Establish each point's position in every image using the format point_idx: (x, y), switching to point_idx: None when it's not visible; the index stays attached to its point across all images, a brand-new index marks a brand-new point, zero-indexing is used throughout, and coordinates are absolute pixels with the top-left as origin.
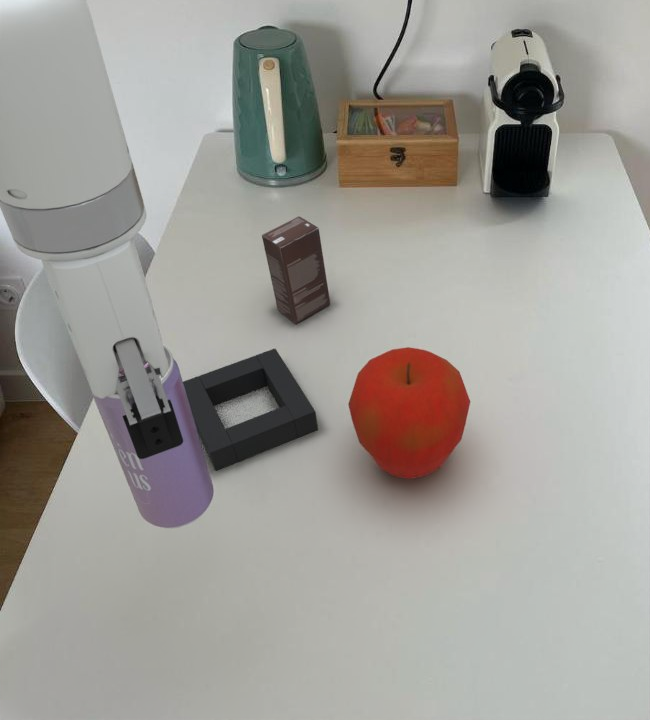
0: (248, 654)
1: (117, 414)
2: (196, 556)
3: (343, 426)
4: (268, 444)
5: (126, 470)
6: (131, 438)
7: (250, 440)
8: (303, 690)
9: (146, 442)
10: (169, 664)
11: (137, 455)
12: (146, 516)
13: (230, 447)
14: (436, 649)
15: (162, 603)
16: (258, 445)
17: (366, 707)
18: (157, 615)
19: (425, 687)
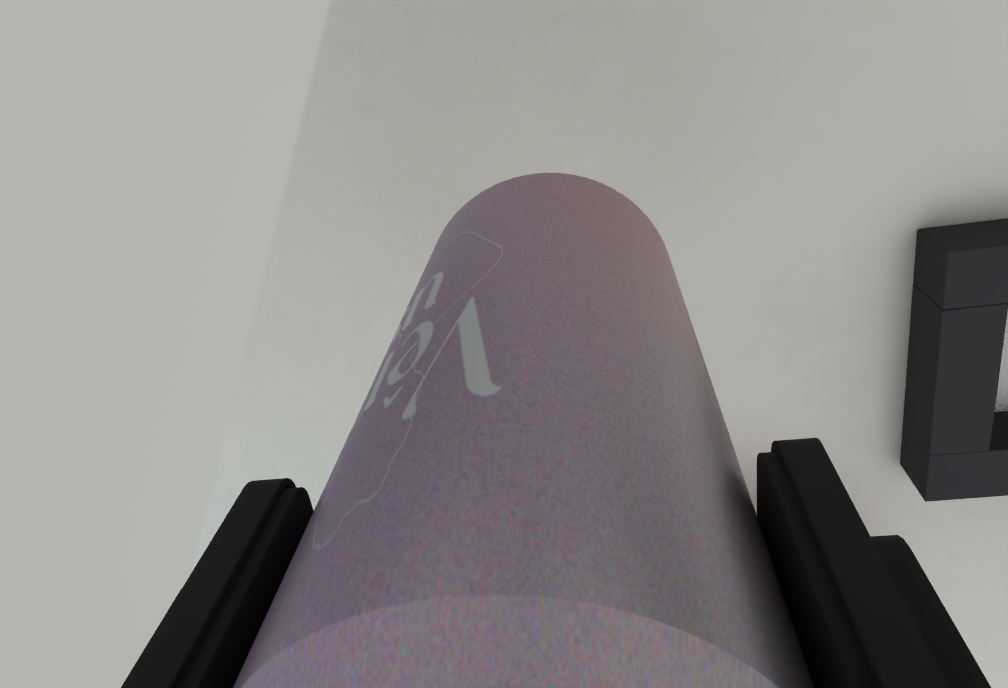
0: (406, 200)
1: (250, 654)
2: (685, 139)
3: (877, 509)
4: (914, 366)
5: (443, 294)
6: (179, 593)
7: (933, 346)
8: (307, 278)
9: (151, 638)
10: (434, 36)
11: (240, 493)
12: (468, 208)
13: (939, 298)
14: (322, 488)
15: (592, 41)
16: (920, 349)
17: (252, 364)
18: (565, 25)
19: (264, 453)
